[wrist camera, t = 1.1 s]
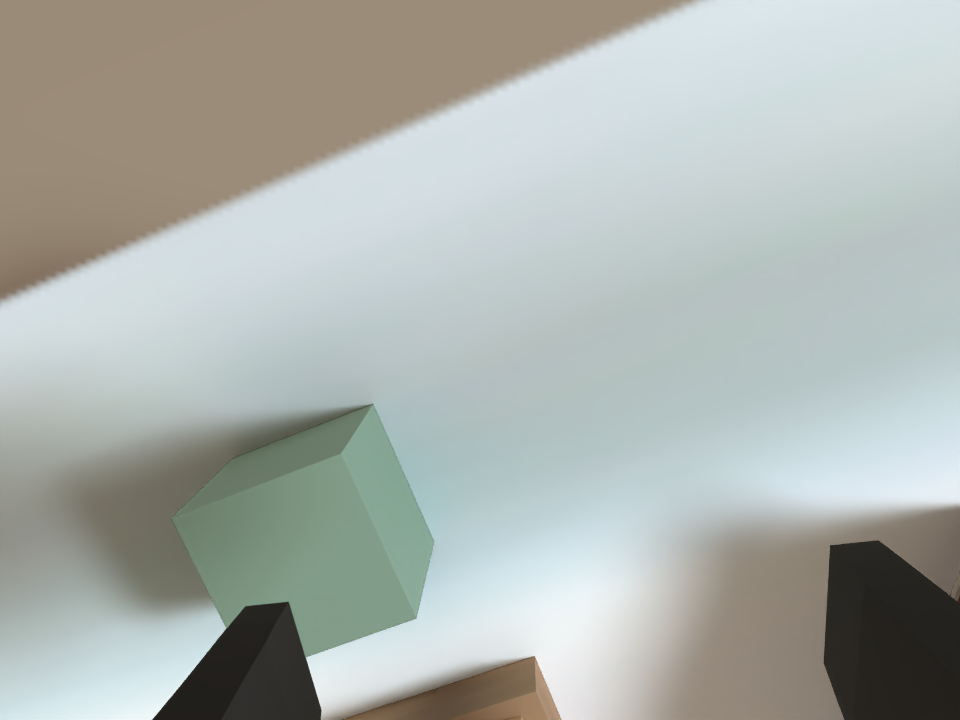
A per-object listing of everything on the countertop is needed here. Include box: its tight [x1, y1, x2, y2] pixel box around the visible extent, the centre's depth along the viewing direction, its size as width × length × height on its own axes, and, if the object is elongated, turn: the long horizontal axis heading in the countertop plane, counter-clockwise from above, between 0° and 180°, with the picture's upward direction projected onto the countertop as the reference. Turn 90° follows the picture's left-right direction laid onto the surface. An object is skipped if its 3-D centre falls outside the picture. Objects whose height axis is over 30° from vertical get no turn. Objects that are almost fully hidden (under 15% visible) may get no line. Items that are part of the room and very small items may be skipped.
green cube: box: [171, 404, 434, 657], centre depth 25 cm, size 5×5×5 cm
